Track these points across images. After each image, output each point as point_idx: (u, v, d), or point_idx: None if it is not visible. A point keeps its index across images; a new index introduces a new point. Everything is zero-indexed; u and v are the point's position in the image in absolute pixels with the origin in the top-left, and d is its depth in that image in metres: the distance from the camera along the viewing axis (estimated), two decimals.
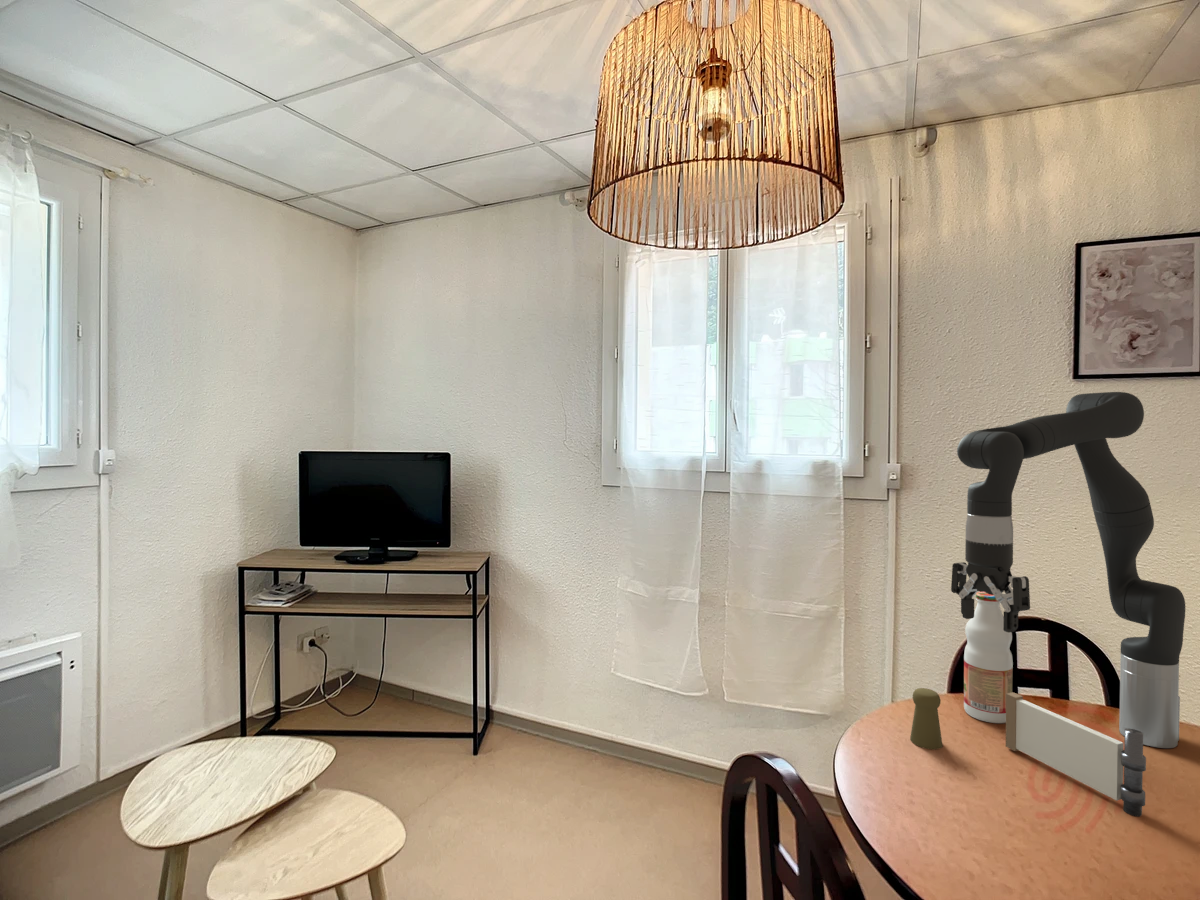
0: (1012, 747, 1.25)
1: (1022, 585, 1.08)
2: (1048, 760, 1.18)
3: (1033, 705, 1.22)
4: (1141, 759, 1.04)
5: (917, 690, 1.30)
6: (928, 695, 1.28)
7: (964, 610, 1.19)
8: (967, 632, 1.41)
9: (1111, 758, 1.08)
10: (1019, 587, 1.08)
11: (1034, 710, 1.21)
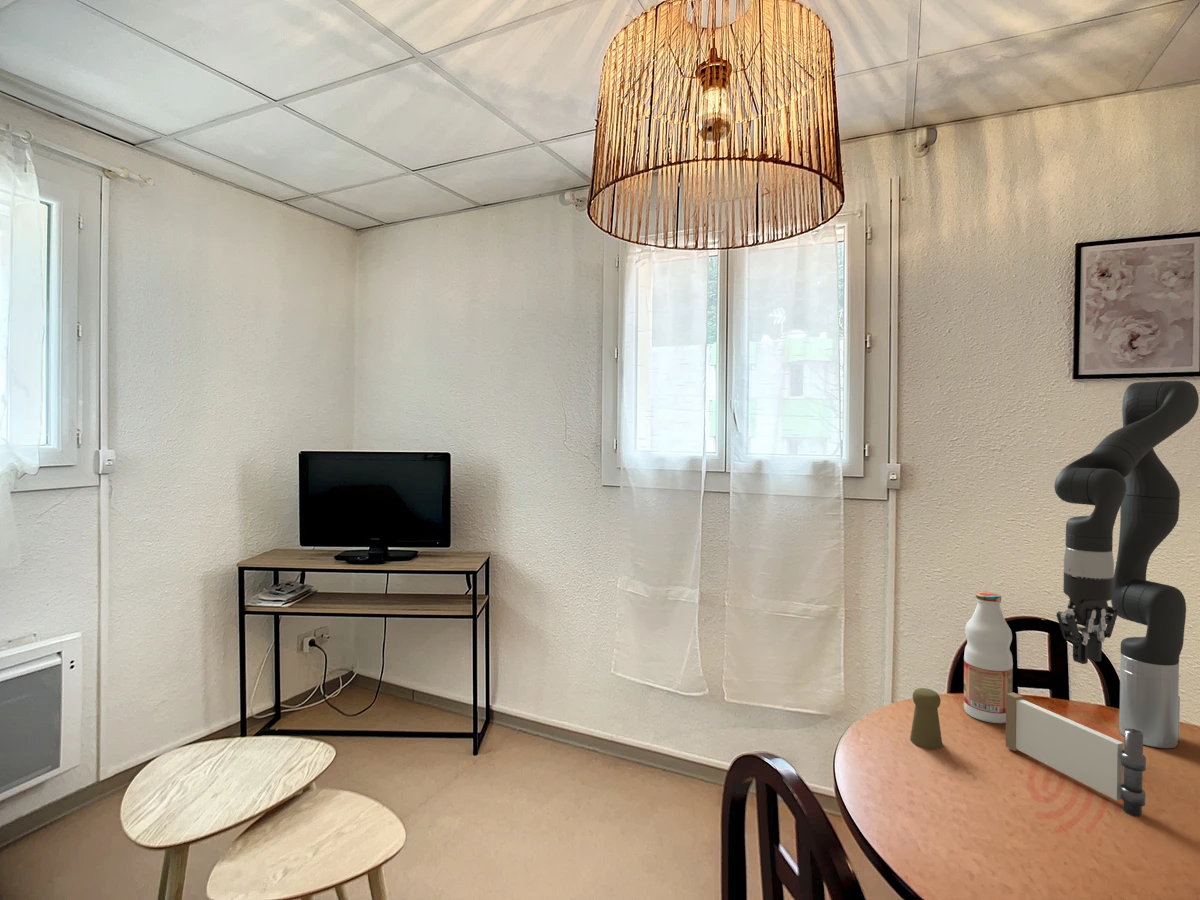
0: (1012, 747, 1.25)
1: None
2: (1048, 760, 1.18)
3: (1033, 705, 1.22)
4: (1141, 759, 1.04)
5: (917, 690, 1.30)
6: (928, 695, 1.28)
7: (1086, 656, 1.16)
8: (967, 632, 1.41)
9: (1111, 758, 1.08)
10: None
11: (1034, 710, 1.21)
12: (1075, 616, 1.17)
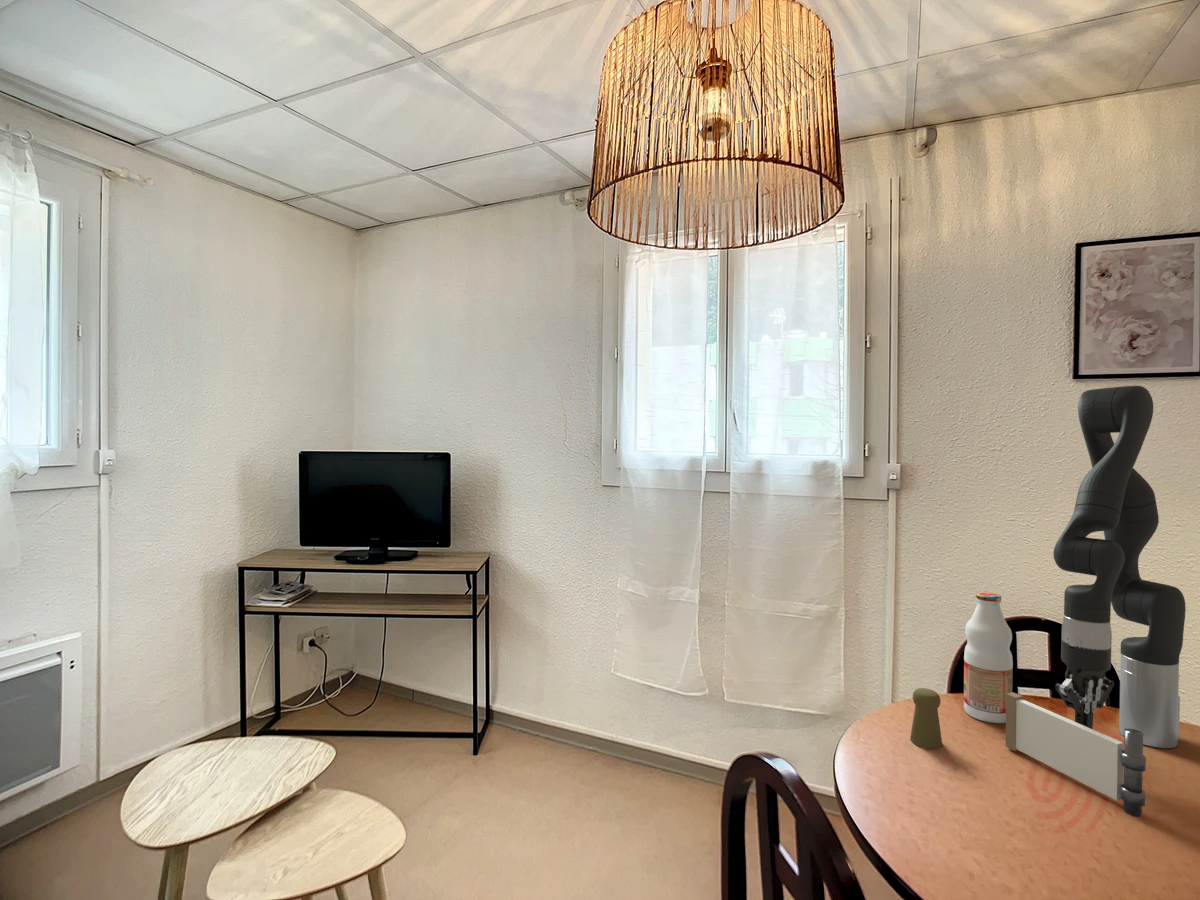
0: (1012, 747, 1.25)
1: None
2: (1048, 760, 1.18)
3: (1033, 705, 1.22)
4: (1141, 759, 1.04)
5: (917, 690, 1.30)
6: (928, 695, 1.28)
7: (1088, 724, 1.17)
8: (967, 632, 1.41)
9: (1111, 758, 1.08)
10: None
11: (1034, 710, 1.21)
12: (1073, 687, 1.18)
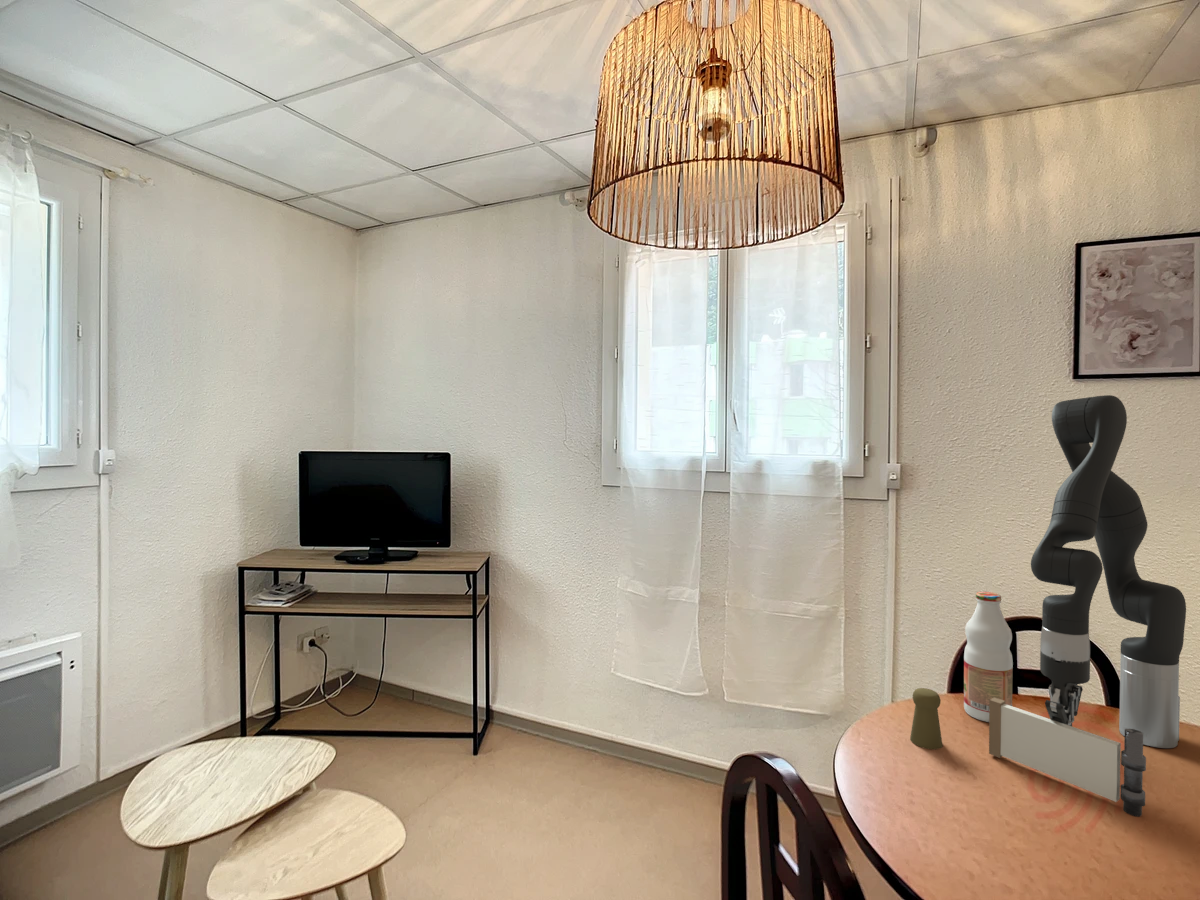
0: (996, 754, 1.23)
1: None
2: (1038, 765, 1.17)
3: (1018, 710, 1.20)
4: (1141, 759, 1.04)
5: (917, 690, 1.30)
6: (928, 695, 1.28)
7: None
8: (967, 632, 1.41)
9: (1110, 760, 1.07)
10: None
11: (1022, 715, 1.19)
12: None
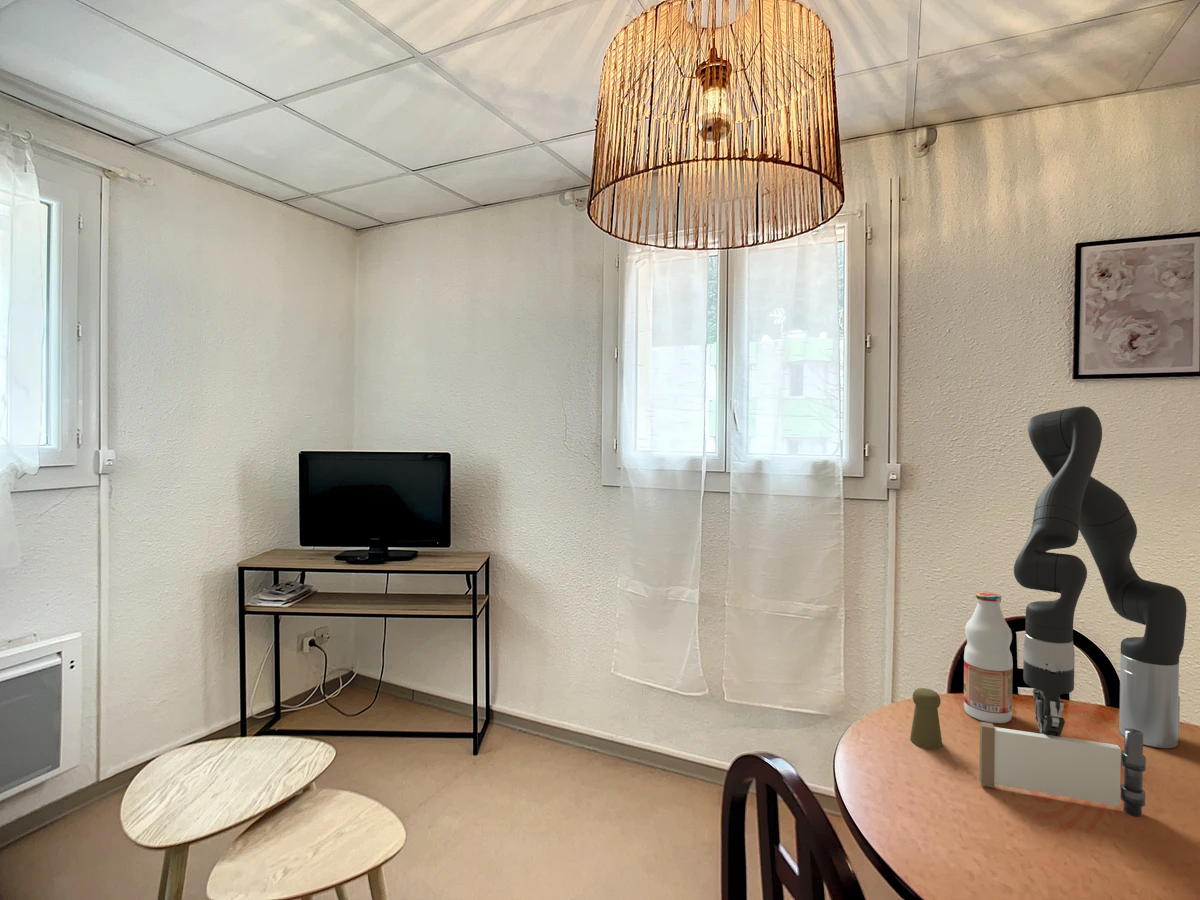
0: (990, 784, 1.12)
1: None
2: (1037, 786, 1.10)
3: (1011, 731, 1.12)
4: (1141, 759, 1.04)
5: (917, 690, 1.30)
6: (928, 695, 1.28)
7: None
8: (967, 632, 1.41)
9: (1113, 765, 1.06)
10: None
11: (1018, 736, 1.11)
12: (1049, 713, 1.11)
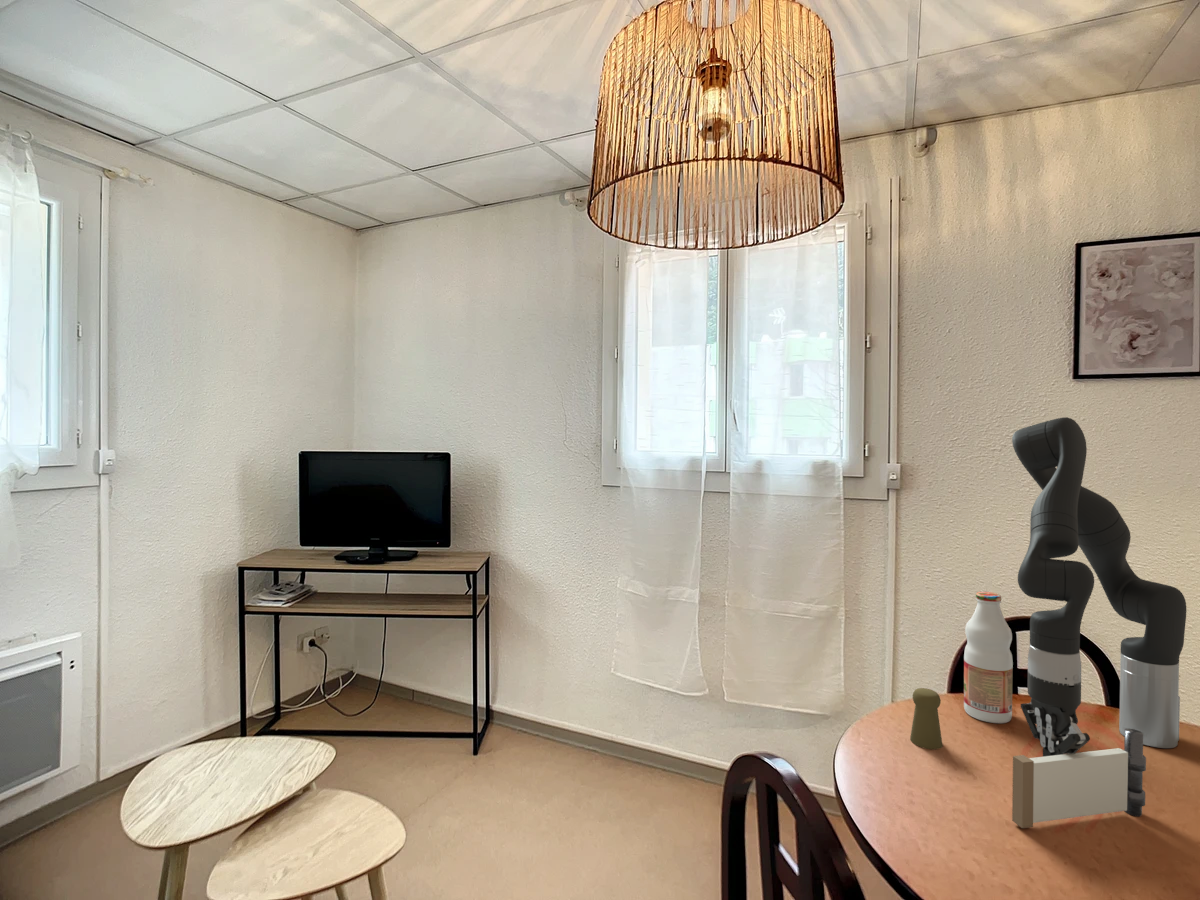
0: (1030, 824, 1.01)
1: None
2: (1066, 812, 1.02)
3: (1043, 759, 1.02)
4: (1141, 759, 1.04)
5: (917, 690, 1.30)
6: (928, 695, 1.28)
7: None
8: (967, 632, 1.41)
9: (1123, 770, 1.04)
10: None
11: (1052, 764, 1.02)
12: None
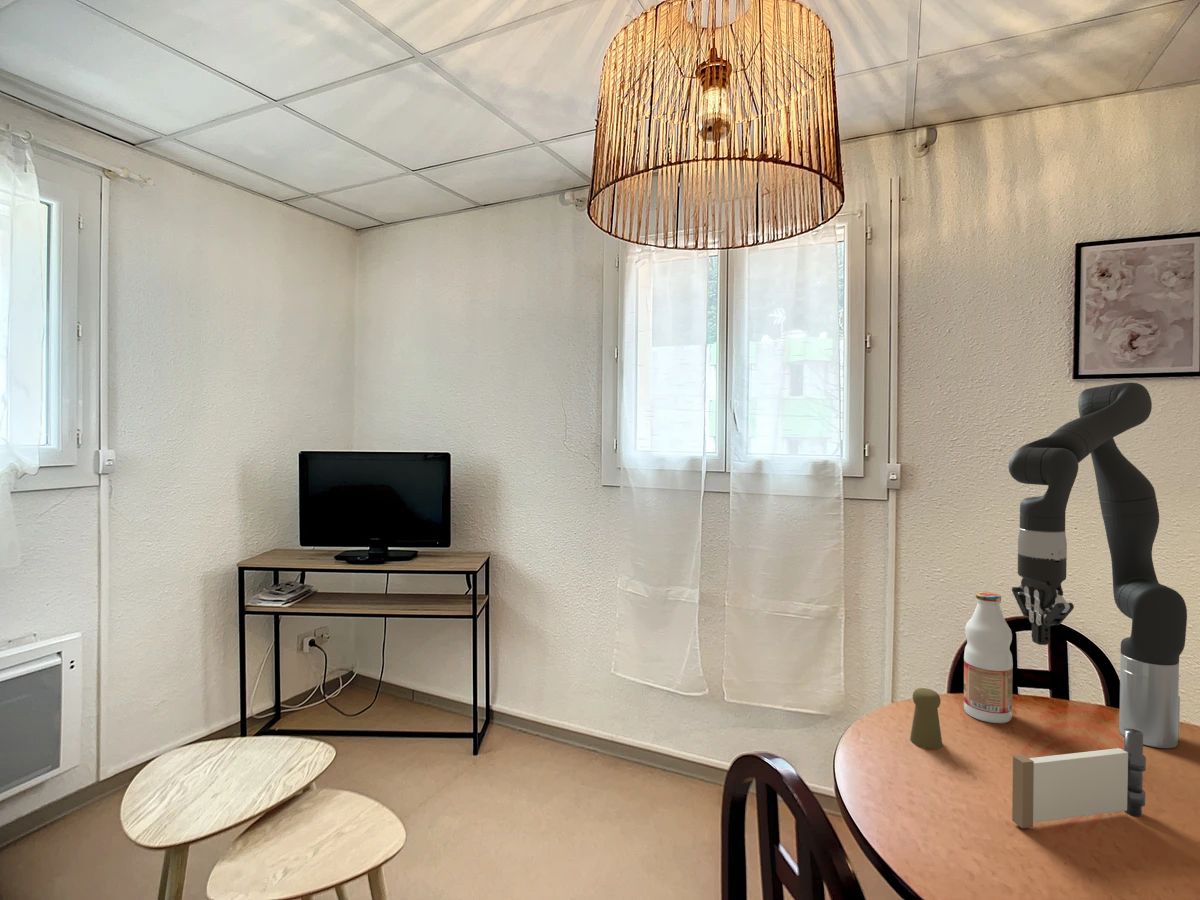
0: (1030, 824, 1.01)
1: None
2: (1066, 812, 1.02)
3: (1043, 759, 1.02)
4: (1141, 759, 1.04)
5: (917, 690, 1.30)
6: (928, 695, 1.28)
7: None
8: (967, 632, 1.41)
9: (1123, 770, 1.04)
10: None
11: (1052, 764, 1.02)
12: None
